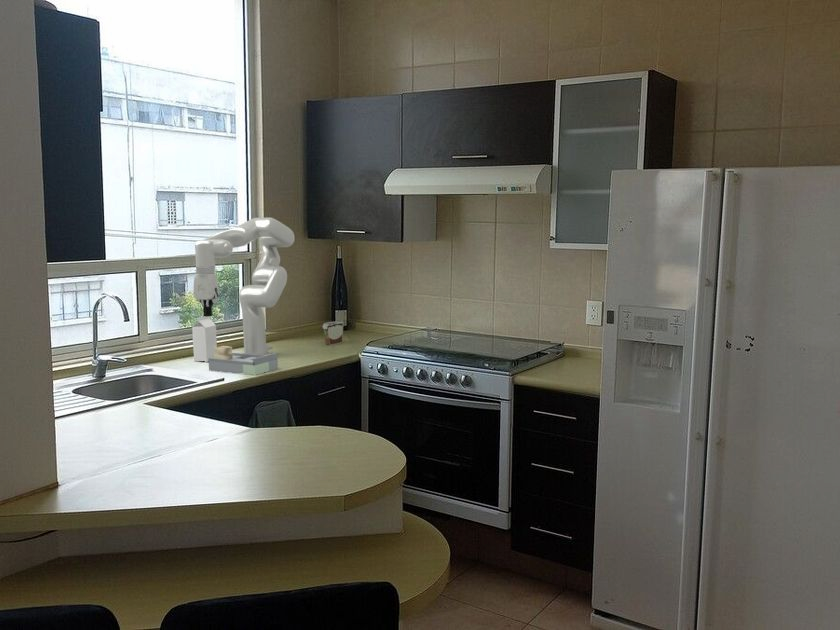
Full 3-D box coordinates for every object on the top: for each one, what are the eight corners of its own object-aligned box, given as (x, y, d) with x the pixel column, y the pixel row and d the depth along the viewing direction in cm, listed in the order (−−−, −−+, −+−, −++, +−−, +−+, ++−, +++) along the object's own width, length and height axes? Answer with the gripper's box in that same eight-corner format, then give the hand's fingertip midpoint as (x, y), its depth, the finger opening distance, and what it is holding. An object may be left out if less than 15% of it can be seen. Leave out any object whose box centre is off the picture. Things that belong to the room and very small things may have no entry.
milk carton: (217, 359, 350) (215, 316, 347) (207, 362, 344) (204, 318, 341) (204, 358, 353) (202, 315, 350) (193, 361, 346) (191, 317, 344)
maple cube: (223, 358, 331) (222, 346, 330) (232, 358, 329) (232, 346, 328) (214, 360, 327) (214, 347, 326) (224, 361, 324) (223, 348, 324)
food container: (335, 341, 393) (334, 320, 392) (344, 342, 390) (343, 321, 388) (317, 344, 383) (316, 324, 382) (327, 345, 380) (326, 324, 378)
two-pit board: (232, 364, 338) (231, 349, 337) (277, 368, 327) (277, 352, 326) (209, 370, 326) (208, 354, 325) (255, 375, 315) (254, 358, 314)
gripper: (185, 271, 327) (187, 316, 329) (213, 272, 319) (215, 318, 321) (198, 270, 333) (200, 314, 335) (226, 270, 326) (228, 316, 328)
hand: (207, 316), depth 328 cm, fingers closed
